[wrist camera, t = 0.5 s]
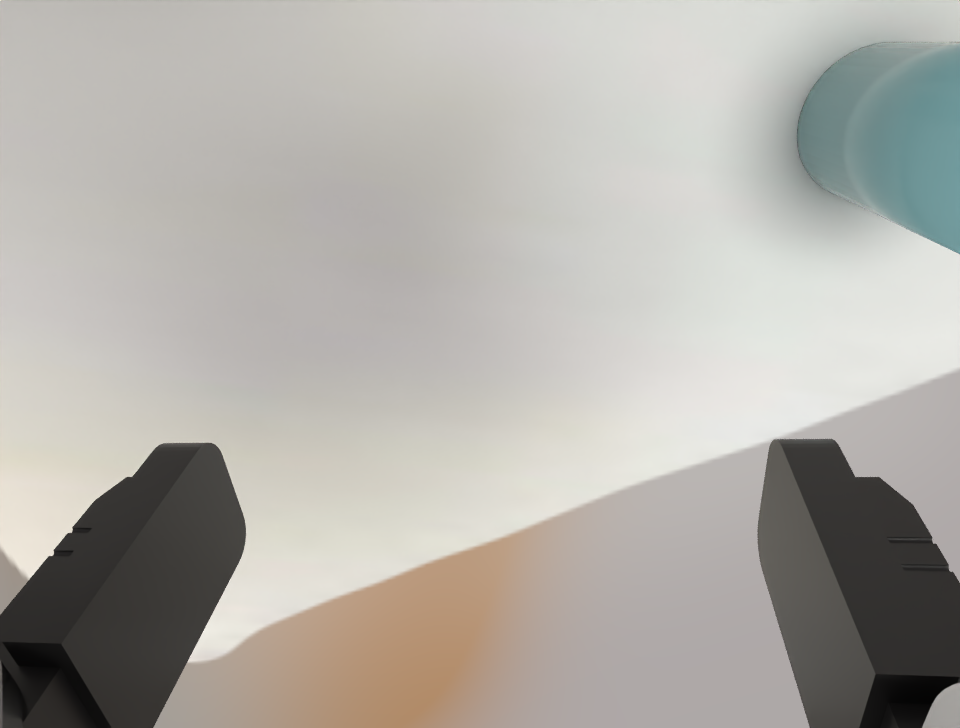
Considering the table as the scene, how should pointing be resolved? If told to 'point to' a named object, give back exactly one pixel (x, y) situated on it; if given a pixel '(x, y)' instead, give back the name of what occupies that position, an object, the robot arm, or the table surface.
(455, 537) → the table surface
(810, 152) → the teal dome-topped cylinder
